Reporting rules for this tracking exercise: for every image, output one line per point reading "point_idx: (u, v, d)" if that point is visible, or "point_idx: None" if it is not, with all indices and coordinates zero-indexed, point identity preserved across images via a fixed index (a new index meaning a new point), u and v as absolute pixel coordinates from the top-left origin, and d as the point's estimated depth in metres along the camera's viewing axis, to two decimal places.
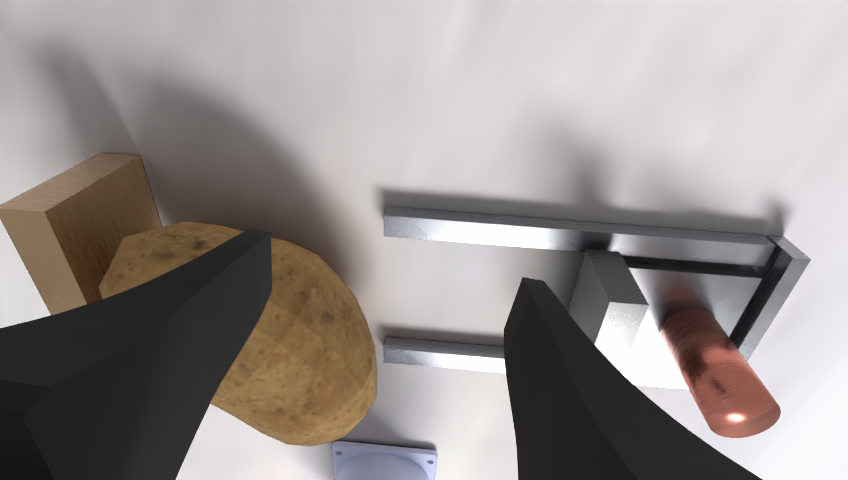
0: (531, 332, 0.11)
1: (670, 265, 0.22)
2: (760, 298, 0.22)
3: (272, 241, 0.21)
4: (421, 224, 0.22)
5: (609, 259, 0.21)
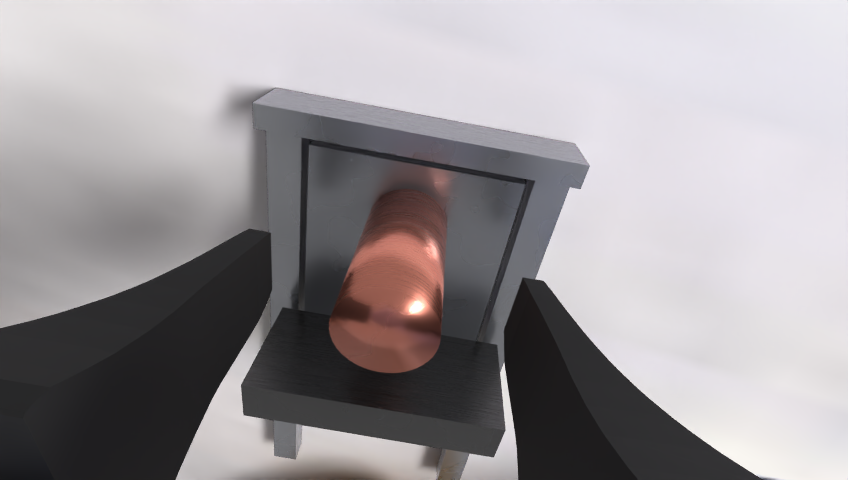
0: (532, 333, 0.11)
1: None
2: None
3: None
4: (279, 436, 0.24)
5: None
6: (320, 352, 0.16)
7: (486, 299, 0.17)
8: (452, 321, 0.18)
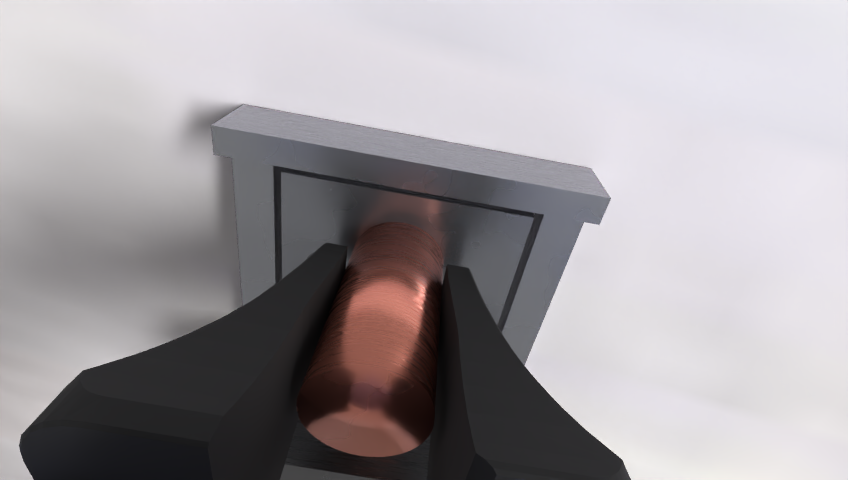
0: (446, 318, 0.11)
1: None
2: None
3: None
4: None
5: None
6: None
7: None
8: None
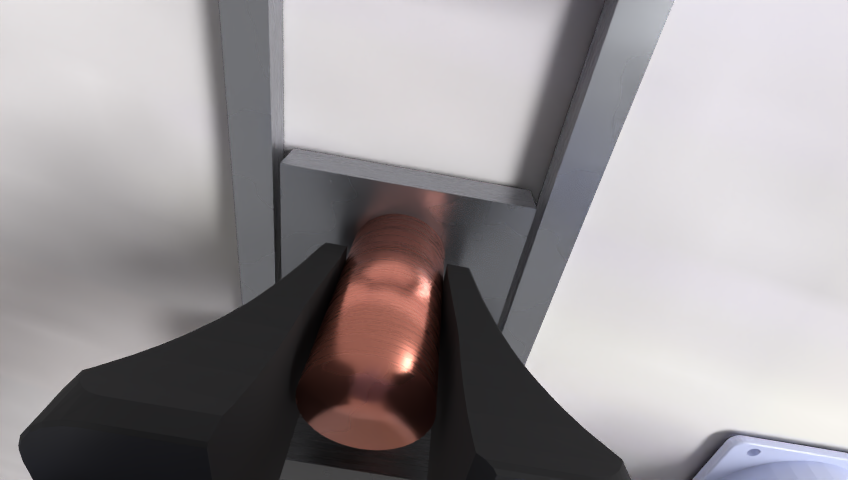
0: (446, 318, 0.11)
1: None
2: None
3: None
4: None
5: None
6: None
7: None
8: None
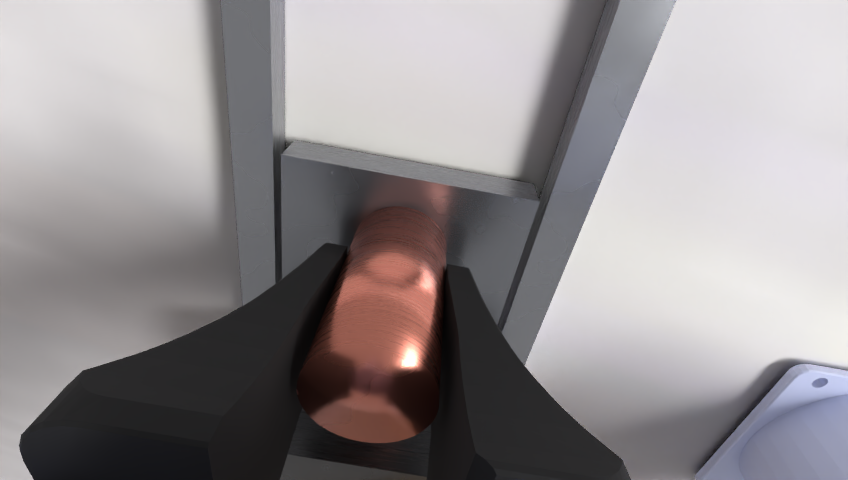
0: (445, 318, 0.11)
1: None
2: None
3: None
4: None
5: None
6: None
7: None
8: None
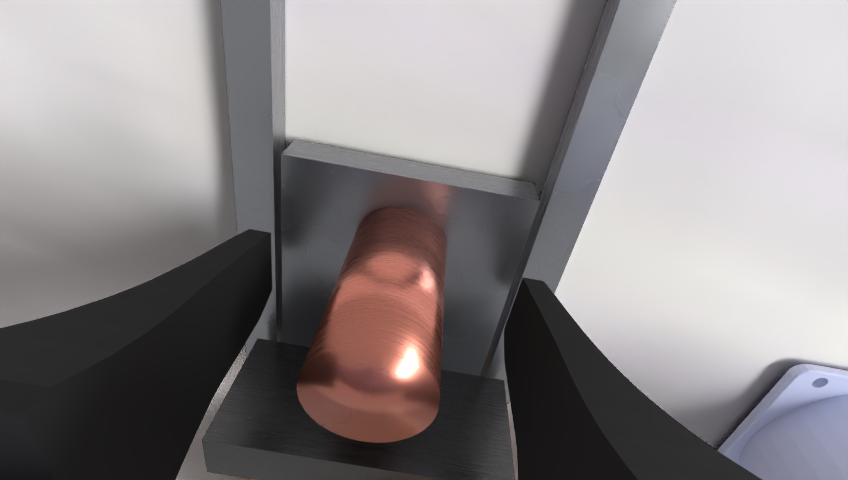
0: (531, 333, 0.11)
1: None
2: None
3: None
4: None
5: None
6: None
7: (492, 330, 0.15)
8: (452, 354, 0.15)
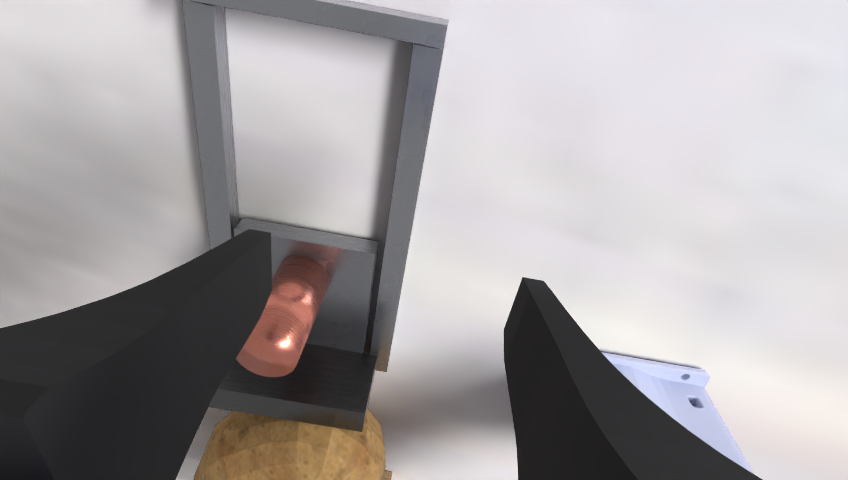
0: (532, 333, 0.11)
1: None
2: None
3: None
4: None
5: None
6: None
7: (364, 325, 0.25)
8: (343, 339, 0.26)
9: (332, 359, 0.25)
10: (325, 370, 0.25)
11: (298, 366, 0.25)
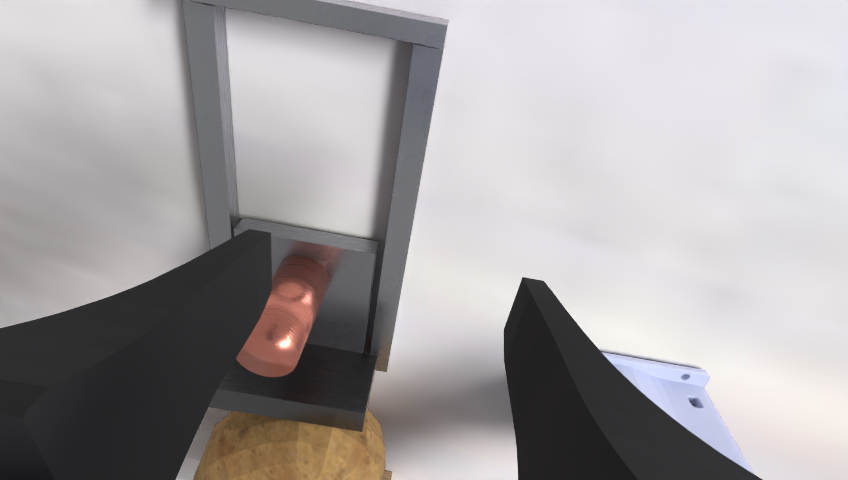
0: (532, 333, 0.11)
1: None
2: None
3: None
4: None
5: None
6: None
7: (364, 325, 0.25)
8: (343, 339, 0.26)
9: (332, 359, 0.25)
10: (325, 370, 0.25)
11: (298, 366, 0.25)
